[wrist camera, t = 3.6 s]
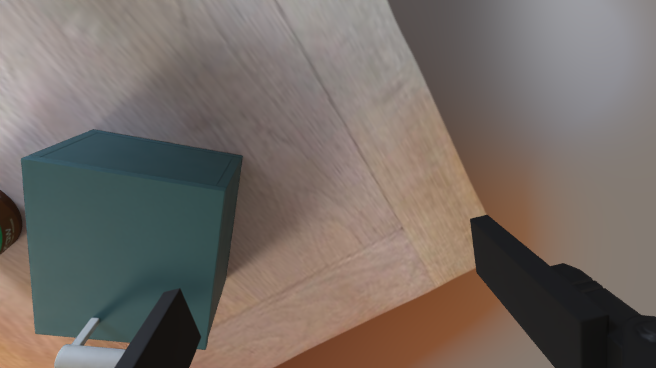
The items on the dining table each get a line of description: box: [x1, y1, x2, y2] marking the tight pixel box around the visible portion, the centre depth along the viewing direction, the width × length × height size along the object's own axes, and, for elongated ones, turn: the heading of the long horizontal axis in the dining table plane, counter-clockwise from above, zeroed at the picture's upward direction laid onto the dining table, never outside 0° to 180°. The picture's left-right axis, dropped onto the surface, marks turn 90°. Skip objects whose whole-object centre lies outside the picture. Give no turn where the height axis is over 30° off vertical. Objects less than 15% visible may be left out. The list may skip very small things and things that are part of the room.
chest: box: [29, 129, 243, 336], centre depth 37 cm, size 17×16×10 cm
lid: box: [21, 156, 227, 368], centre depth 30 cm, size 18×16×6 cm
